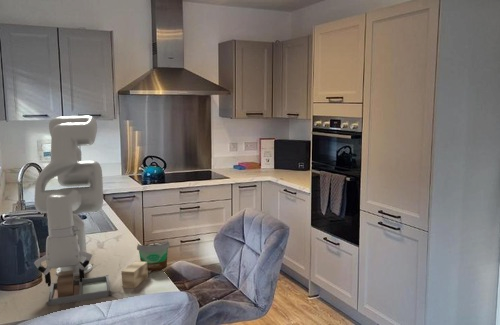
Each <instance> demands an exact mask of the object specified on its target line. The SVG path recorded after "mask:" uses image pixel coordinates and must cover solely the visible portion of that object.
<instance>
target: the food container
mask: <svg viewBox="0 0 500 325" xmlns="http://www.w3.org/2000/svg"><path fill="white" fill-rule="evenodd" d="M168 239H169V238H168ZM168 239H167V241H163V242H151V243H148V244H142V245H141V244H139V243H137V244H136V250H137V251H138V254H139V261H141V262H147V265H148V272H152V273H153V272H159V271H162V270H165V269H166V268H167V266H168V252H169V250H168V249H169V247H171V246H170V242H169V240H168Z"/></svg>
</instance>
